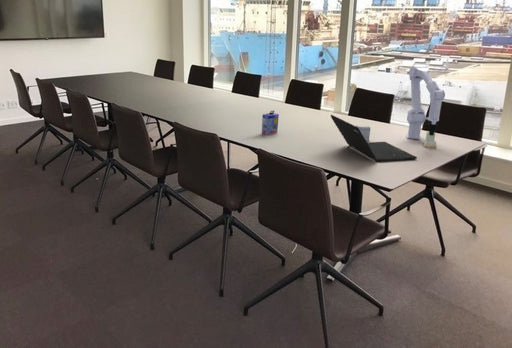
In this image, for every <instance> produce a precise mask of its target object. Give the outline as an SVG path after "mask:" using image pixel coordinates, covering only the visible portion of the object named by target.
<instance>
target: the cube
mask: <svg viewBox="0 0 512 348" xmlns="http://www.w3.org/2000/svg"><path fill="white" fill-rule="evenodd" d="M425 135H426V136H425V138H426V140H427V141H434V140H435V137H436V132H435V133H434V135H429V130H428V131H426V134H425Z"/></svg>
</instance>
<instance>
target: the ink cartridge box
mask: <svg viewBox="0 0 512 348" xmlns="http://www.w3.org/2000/svg"><path fill="white" fill-rule="evenodd" d="M279 116H280V113H276V112H275V110H270V112H269V113H264V114H262V119H261V121H262V123H261V134H263V135H265V136H269V135H274V134H277V133H278V127H279Z"/></svg>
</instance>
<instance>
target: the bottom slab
mask: <svg viewBox="0 0 512 348" xmlns="http://www.w3.org/2000/svg"><path fill="white" fill-rule="evenodd" d="M422 143H423V142H422ZM422 145H423V147H425V148H431V147H432V148H433V149H437V144H436V145H426V144H425V143H423V144H422Z"/></svg>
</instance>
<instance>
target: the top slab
mask: <svg viewBox="0 0 512 348" xmlns="http://www.w3.org/2000/svg"><path fill="white" fill-rule="evenodd" d="M422 143H425V144H426V145H436V146H437V140H435V139H434V141H427V140H426V137H424V138H423V139H422Z"/></svg>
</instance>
